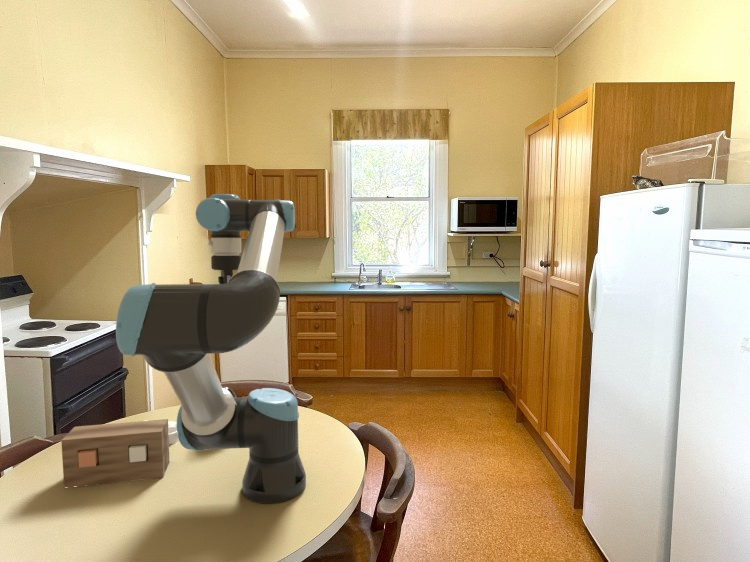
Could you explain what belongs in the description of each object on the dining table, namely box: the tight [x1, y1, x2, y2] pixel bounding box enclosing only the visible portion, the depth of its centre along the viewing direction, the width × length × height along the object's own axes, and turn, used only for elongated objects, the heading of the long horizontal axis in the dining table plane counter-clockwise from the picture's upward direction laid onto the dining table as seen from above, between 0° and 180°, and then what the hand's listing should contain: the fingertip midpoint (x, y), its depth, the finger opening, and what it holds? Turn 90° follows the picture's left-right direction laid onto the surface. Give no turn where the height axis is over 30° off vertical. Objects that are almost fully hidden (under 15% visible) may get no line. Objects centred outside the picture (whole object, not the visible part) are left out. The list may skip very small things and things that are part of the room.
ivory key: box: [129, 444, 148, 462], centre depth 114 cm, size 5×4×4 cm
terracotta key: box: [78, 448, 99, 468], centre depth 111 cm, size 5×4×4 cm
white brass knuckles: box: [144, 419, 180, 445], centre depth 137 cm, size 3×18×15 cm
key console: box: [61, 418, 171, 489], centre depth 115 cm, size 8×22×12 cm, turn 104°
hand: (228, 343), depth 120 cm, fingers closed
